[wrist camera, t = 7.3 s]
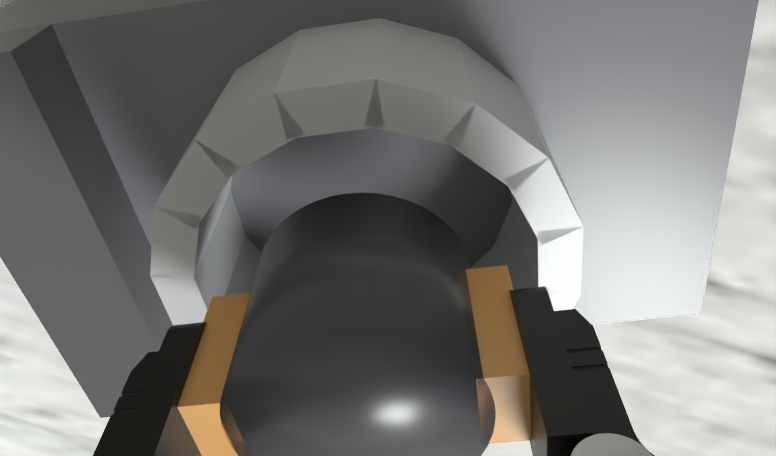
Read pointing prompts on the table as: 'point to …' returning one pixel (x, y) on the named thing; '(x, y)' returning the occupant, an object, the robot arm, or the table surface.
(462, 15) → the camera body
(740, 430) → the table surface
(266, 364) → the grey dome
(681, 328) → the table surface
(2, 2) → the table surface
